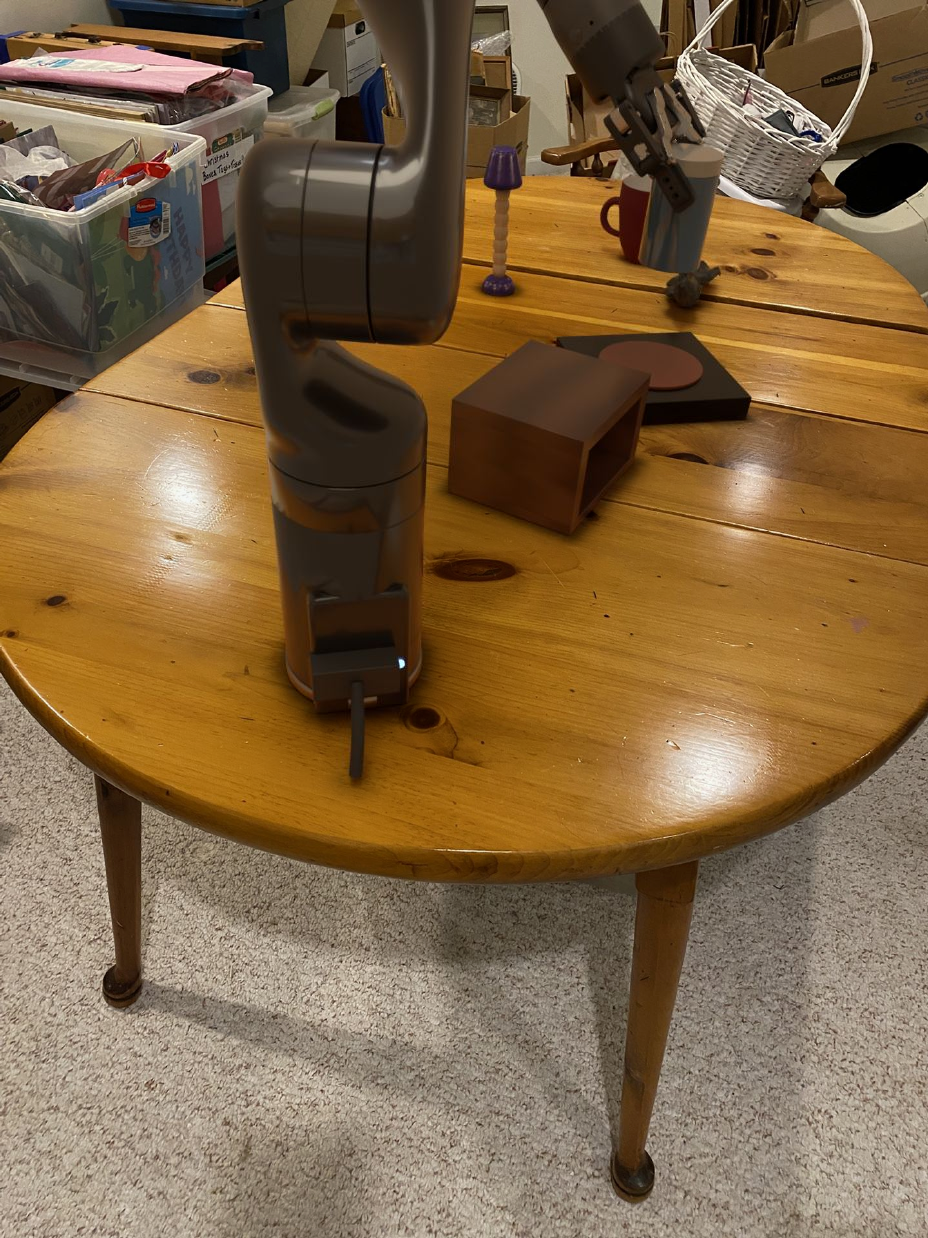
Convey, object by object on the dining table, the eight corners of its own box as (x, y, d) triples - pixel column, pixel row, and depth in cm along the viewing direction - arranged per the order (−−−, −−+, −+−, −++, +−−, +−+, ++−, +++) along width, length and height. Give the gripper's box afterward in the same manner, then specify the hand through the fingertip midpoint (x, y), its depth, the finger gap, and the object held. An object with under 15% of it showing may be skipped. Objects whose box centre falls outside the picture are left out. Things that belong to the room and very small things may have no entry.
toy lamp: (493, 299, 115) (503, 155, 104) (469, 287, 118) (477, 145, 107) (521, 291, 118) (534, 149, 107) (497, 279, 120) (508, 140, 110)
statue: (672, 294, 127) (656, 319, 110) (675, 251, 125) (658, 270, 108) (720, 293, 125) (710, 319, 108) (723, 250, 123) (714, 270, 106)
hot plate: (745, 419, 95) (752, 394, 93) (598, 428, 92) (603, 402, 90) (686, 351, 107) (691, 328, 105) (553, 357, 104) (556, 333, 102)
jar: (709, 273, 89) (735, 161, 82) (650, 274, 88) (672, 160, 81) (685, 250, 93) (708, 143, 87) (629, 251, 92) (648, 142, 86)
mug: (587, 260, 128) (597, 183, 121) (600, 242, 134) (611, 168, 127) (662, 273, 125) (677, 196, 119) (672, 255, 131) (687, 180, 125)
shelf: (633, 461, 87) (651, 373, 81) (569, 536, 78) (584, 441, 72) (521, 425, 91) (530, 338, 86) (446, 491, 82) (451, 398, 76)
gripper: (603, 8, 75) (709, 192, 78) (665, -8, 84) (757, 157, 88) (538, 72, 80) (640, 242, 84) (603, 50, 90) (692, 204, 93)
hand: (699, 198), depth 86 cm, fingers closed on jar, 6 cm apart
